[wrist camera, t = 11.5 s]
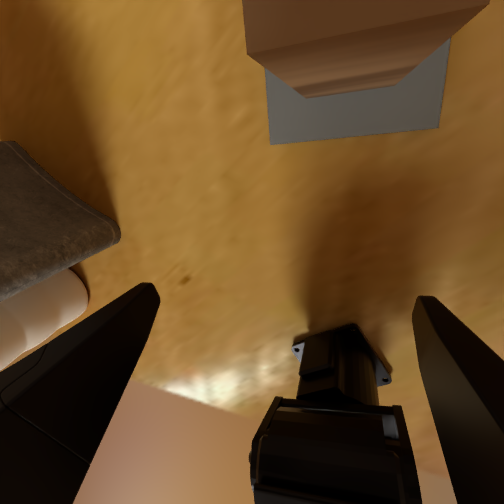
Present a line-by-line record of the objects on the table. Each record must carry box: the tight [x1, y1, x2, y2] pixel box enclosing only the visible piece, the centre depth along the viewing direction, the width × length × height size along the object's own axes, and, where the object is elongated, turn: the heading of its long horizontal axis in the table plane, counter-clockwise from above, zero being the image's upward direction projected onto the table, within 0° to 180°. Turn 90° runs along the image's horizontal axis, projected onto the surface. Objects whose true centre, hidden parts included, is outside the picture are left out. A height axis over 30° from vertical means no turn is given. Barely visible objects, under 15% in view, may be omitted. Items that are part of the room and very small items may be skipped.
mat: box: [265, 37, 451, 145], centre depth 16 cm, size 10×10×1 cm
